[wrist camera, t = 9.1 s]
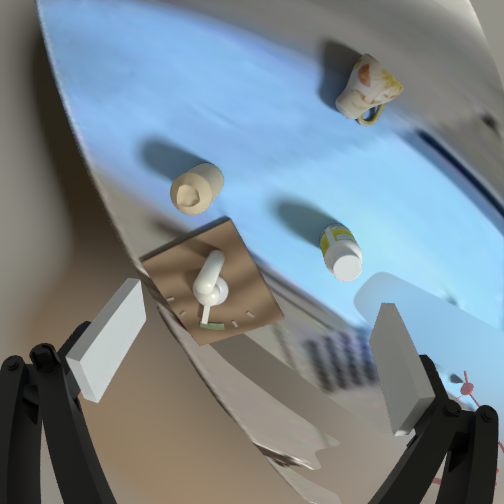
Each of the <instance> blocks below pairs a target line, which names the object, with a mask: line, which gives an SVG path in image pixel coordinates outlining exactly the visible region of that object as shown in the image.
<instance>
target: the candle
mask: <svg viewBox="0 0 504 504" xmlns="http://www.w3.org/2000/svg"><path fill="white" fill-rule="evenodd" d="M223 185H224V177H223V174H222V172H221V170H220V169H219V168H218V167H217V166H215V165H213V164H210V163H202V164H199V165H197V166H195V167H193V168H191V169H190V170H188V171H186V172H185V173H183V174H181V175H180V176H178V177H177V178H176V179H175V180H174V182H173V183H172V186H171V189H170V196H171V200H172V202H173V204H174V206H175V207H176V208H177V209H178V210H179V211H181V212H182V213H185V214H188V215H196V214H200V213H202V212H203V211H205V210H206V209H207V208H208V207H209V205H210V204H211V203H212V202H213V200H214V199H215V198H216V197H217V195H218V194H219V193H220V192H221V190H222V188H223Z"/></svg>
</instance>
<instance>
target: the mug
mask: <svg viewBox="0 0 504 504" xmlns="http://www.w3.org/2000/svg"><path fill="white" fill-rule="evenodd" d="M402 90H403V87H402V85H401V84H400V83H399V82H398V81H397V80H396V78H395V77H394V76H393V75H392V74H391V73H390V72H389V71H388V70H387V69H386V68H385V67H384V66H383V65H382V64H380V63H379V62H378V61H377V60H376V59H375V58H373V57H372V56H371V55H369V54H364V55H363V56H362V57H360V58H359V59H358V61H357V62H356V64H355V65H354V68H353V70H352V73H351V75H350V78H349V81H348V83H347V86H346V87H345V89H344V90H343V92H342V93H341V94H340V95H339V96H338V97H337V98H336V103H335V104H336V107H337V109H338V110H339V112H340V113H341V114H342V115H343V116H345V117H346V118H348V119H357V118H358V122H359V124H360V125H363V126H370V125H372V124H374V123H375V122H376V120H377V119H378V117H379V115H380V113H381V111H382V110H383V108H384V106H385V104H386V103H387V102H388V101H391V100H393V99H394V98H396V97H397V96H398V95H399V94H400V93H401V92H402ZM377 105H378V108H377V110H376V113H375V115H374V116H373V117H372V119H371V120H370V121H365V120H364V119H363V114H364V112H365V111H366V110H368V109H370V108H372V107H375V106H377Z"/></svg>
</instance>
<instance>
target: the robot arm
mask: <svg viewBox="0 0 504 504" xmlns="http://www.w3.org/2000/svg"><path fill="white" fill-rule="evenodd" d="M145 321H146V315H145V309H144V302H143V296H142V289H141V282H140V280H139V279H131V278H128V279H127V280H126V281H125V282H124V283H123V285H122V286H121V287H120V288H119V290H118V291H117V292H116V293H115V294H114V296H113V297H112V298H111V299H110V300H109V302H108V303H107V304H106V305H105V307H104V308H103V309H102V310H101V311H100V313H99V314H98V315H97V316H96V318H95V319H94V320H93V321H92V322H89V321H85V322H84V323H82V324H81V325H79V326H78V327H77V328H76V329H75V331H74V332H73V334H71V336H70V337H69V339H67V341H66V342H65V343H64V344H63V346H62V347H61V348H60V349H59V351H58V352H57V353H56V350H55V348H54V346H53V345H51V344H48V343H41V344H39V345H37V346H35V347H34V348H33V349H32V350H31V352H30V355H29V356H30V358H31V361H32V363H33V364H25V362H24V360H23V358H22V357H20V356H17V355H14V356H10V357H8V358H7V359H6V360H5V361H4V362H3V364H2V366H1V370H0V504H41V492H40V449H41V431H42V420H43V425H44V430H45V436H46V440H47V445H48V449H49V454H50V458H51V462H52V465H53V469H54V473H55V476H56V480H57V483H58V487H59V489H60V493H61V496H62V499H63V502H64V504H117V503H116V500H115V498H114V496H113V494H112V492H111V489H110V487H109V485H108V482H107V480H106V478H105V475H104V473H103V470H102V468H101V465H100V463H99V460H98V457H97V455H96V452H95V449H94V446H93V443H92V441H91V438H90V435H89V432H88V428H87V425H86V422H85V419H84V415H83V412H82V408H81V405H80V401H79V399H78V397H77V396H78V394H79V393H80V391H81V392H82V394H83V396H84V398H85V399H88V400H91V401H93V402H96V403H98V402H99V400H100V398H101V397H102V395H103V393H104V391H105V390H106V388H107V386H108V384H109V382H110V380H111V379H112V377H113V375H114V374H115V372H116V370H117V368H118V366H119V365H120V363H121V361H122V359H123V358H124V356H125V354H126V353H127V351H128V349H129V348H130V346H131V344H132V342H133V341H134V339H135V337H136V336H137V334H138V332H139V331H140V329H141V327H142V326H143V324H144V322H145ZM369 344H370V347H371V351H372V354H373V358H374V361H375V365H376V368H377V372H378V375H379V379H380V383H381V387H382V390H383V394H384V398H385V402H386V406H387V410H388V414H389V418H390V423H391V427H392V431H393V435H394V436H399V435H408V434H409V433H410V432H411V430H412V429H413V428H414V429H415V432H416V434H415V436H414V437H413V438H412V439H411V441H410V442H409V443H408V444H407V449H406V450H405V452H404V453H403V455H402V456H401V458H400V459H399V461H398V463H397V464H396V466H395V467H394V469H393V470H392V472H391V473H390V474H389V476H388V478H387V479H386V480H385V482H384V483H383V484H382V486H381V487H380V488H379V490H378V491H377V492H376V494H375V495H374V496H373V498H372V499H371V500H370V502H369V503H368V504H420V502H421V501H422V499H423V497H424V495H425V494H426V492H427V490H428V488H429V486H430V485H431V483H432V481H433V479H434V477H435V475H436V473H437V472H438V469H439V467H440V465H441V463H442V461H443V459H444V457H445V455H446V453H447V456H446V461H445V466H444V471H443V476H442V480H441V484H440V489H439V493H438V496H437V500H436V503H435V504H492V503H493V496H494V489H495V481H496V471H497V458H498V414H497V412H496V411H495V410H494V409H493V408H492V407H490V406H488V405H483V406H480V407H479V408H478V409H477V410H476V412H473V411H466V410H462V409H461V407H460V405H459V404H458V403H457V402H455V401H454V400H450V399H449V398H448V395H447V393H446V390H445V388H444V386H443V383H442V381H441V379H440V377H439V374H438V372H437V371H436V368H435V365H434V363H433V361H432V360H431V359H430V358H429V357H428V356H427V355H418V353H417V351H416V348H415V346H414V344H413V342H412V340H411V337H410V335H409V333H408V331H407V329H406V327H405V324H404V322H403V320H402V318H401V316H400V314H399V312H398V310H397V308H396V306H395V304H394V303H382V304H381V308H380V311H379V313H378V316H377V320H376V322H375V325H374V328H373V331H372V334H371V337H370V340H369Z"/></svg>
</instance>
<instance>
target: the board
mask: <svg viewBox="0 0 504 504" xmlns="http://www.w3.org/2000/svg"><path fill="white" fill-rule="evenodd" d="M212 250H220V251H222V252H223V253H224V255H225V260H224V263H223V265H222V268H221V270H220V273H219V275H221V276H222V277H223V278H224V279H225V280H226V282H227V284H228V287H229V291H228V295H227V298H226V299H225V301H224V302H222V303H221V304H219V305H213V306H211V307H210V312H209V317H208V322H207V324H204V323H202V317H203V311H204V305H202V304H201V303H200V302H199V301H198V299H197V298H196V297H195V295H194V293H193V283H194V281H195V279H196V278H197V276H198V275H199V273H200V271H201V269H202V267H203V265H204V263H205V261H206V260H207V258H208V256H209V254H210V252H211V251H212ZM141 264H142V265H143V267H144V268H145V270H146V271H147V273H148V274H149V276H150V277H151V279H152V280H153V282H154V283H155V285H156V286H157V288H158V289H159V291H160V292H161V294H162V295H163V297H164V298H165V299H166V301H167V302H168V304H169V305H170V307H171V308H172V309H173V311H174V312H175V314H176V315H177V316H178V318H179V319H180V321H181V322H182V323H183V325H184V326H185V327H186V329H187V330H188V332H189V333H190V334H191V336H192V337H193V338H194V340H195V341H196V342H197V344H198V345H199V346H202V345H205V344H208V343H212V342H215V341H218V340H222V339H225V338H228V337H231V336H235V335H237V334H241V333H244V332H247V331H250V330H253V329H256V328H259V327H262V326H265V325H268V324H271V323H274V322H277V321H280V320H283V319H284V315H283V313H282V311H281V309H280V307H279V306H278V304H277V302H276V300H275V298H274V296H273V295H272V293H271V291H270V289H269V287H268V285H267V284H266V282H265V280H264V278H263V276H262V274H261V273H260V271H259V269H258V267H257V265H256V264H255V262H254V260H253V258H252V256H251V254H250V253H249V251H248V249H247V247H246V245H245V243H244V242H243V240H242V238H241V236H240V234H239V232H238V231H237V229H236V227H235V225H234V223H233V221H232V220H231V219H229V220H227V221H224V222H222V223H220V224H218V225H216V226H214V227H212V228H210V229H208V230H205V231H203V232H201V233H199V234H197V235H195V236H193V237H191V238H189V239H187V240H185V241H183V242H180V243H178V244H176V245H174V246H172V247H170V248H168V249H166V250H164V251H162V252H160V253H158V254H156V255H154V256H152V257H150V258H148V259H146V260H144V261H143V262H142V263H141Z"/></svg>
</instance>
